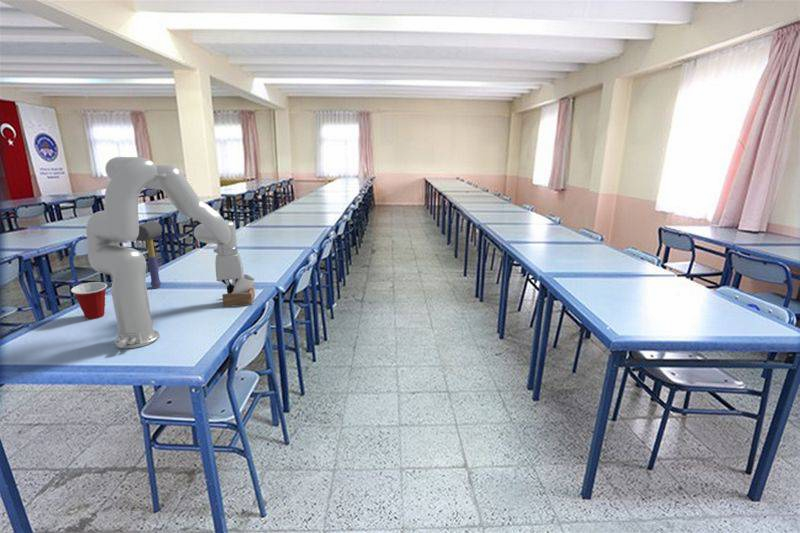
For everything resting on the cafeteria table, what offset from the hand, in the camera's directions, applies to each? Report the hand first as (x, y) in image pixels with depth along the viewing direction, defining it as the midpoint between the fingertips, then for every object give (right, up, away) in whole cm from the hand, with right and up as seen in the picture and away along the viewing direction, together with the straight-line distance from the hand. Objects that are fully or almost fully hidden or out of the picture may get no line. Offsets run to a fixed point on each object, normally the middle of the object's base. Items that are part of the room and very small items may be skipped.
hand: (232, 293), depth 173 cm
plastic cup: (-45, -8, -18) cm, 49 cm away
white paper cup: (+2, -2, +1) cm, 3 cm away
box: (+3, -3, +1) cm, 4 cm away
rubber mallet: (-41, +2, +16) cm, 44 cm away
